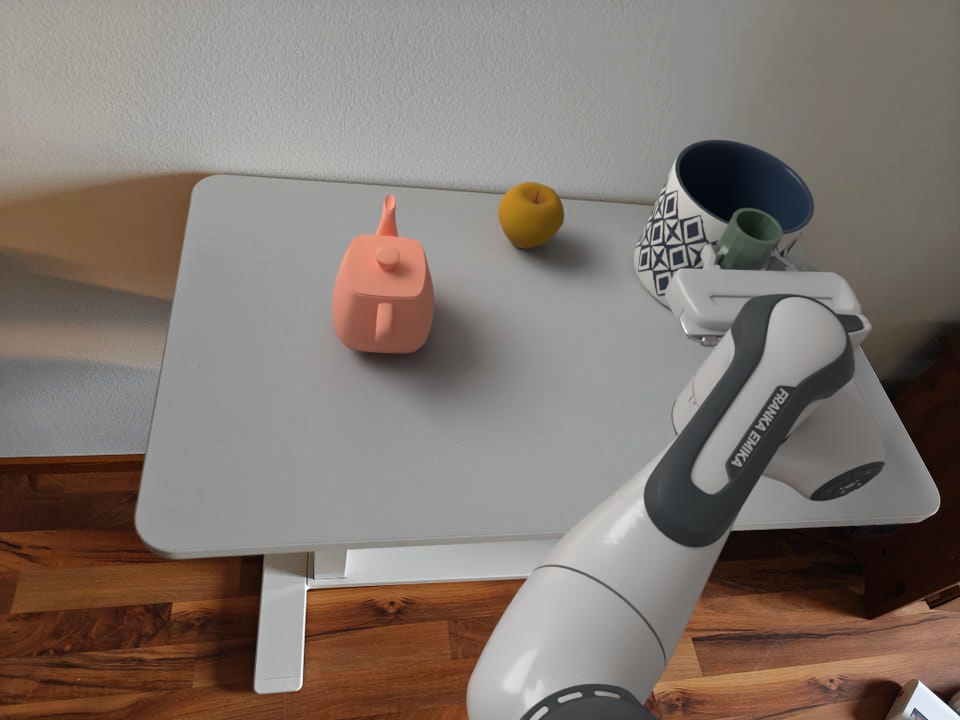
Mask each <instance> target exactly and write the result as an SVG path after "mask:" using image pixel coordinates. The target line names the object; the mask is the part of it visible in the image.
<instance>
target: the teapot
mask: <svg viewBox="0 0 960 720" xmlns="http://www.w3.org/2000/svg"><path fill="white" fill-rule="evenodd" d="M396 203H397V202H396V198H395V196H394V195H393V194H391V193H390V194H387V195H386V196H385V198H384V200H383V207H382V214H381V219H380V222H379V225H378V228H377V231H376V233H375V234H359V235H356V236H354V238H353V239H352V240H351V242H350V244H349V246H348V248H347V250H346V252H345V254H344V256H343V258H342V260H341V262H340V265H339V269H338V272H337V274H336V277H335V282H334V285H333V293H332V301H331V303H332V304H331V305H332V306H331V307H332V308H331V311H332V319H333V324H334V329H335V331H336V335H337V336H338V339H339V340H340V342H341V343H342V345H344V346H345V347H346V348H347V349H350V350H353V351H359V352H366V353H367V352H368V353H380V354H409V353H414V352H416V351H418V350H419V349H420V348H421V347H422V346H424V345H425V343H426V341H427V339H428V337H429V334H430V332H431V328H432V326H433V325H432V324H433V320H434V319H433V318H434V313H435V312H434V309H435V293H434V284H433V279H432V275H431V271H430V270H431V269H430V267H429V263H428V259H427V256H426V252H425V250H424V248H423V247H424V246H423V245H422V243H421V242H420V241H419V240H418V239H415V238H409V237H403V236H399V233H398V228H397V221H396V220H397V219H396Z"/></svg>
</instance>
